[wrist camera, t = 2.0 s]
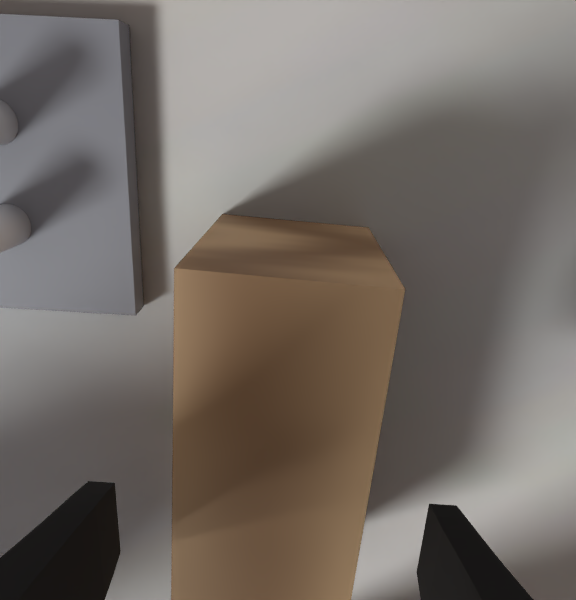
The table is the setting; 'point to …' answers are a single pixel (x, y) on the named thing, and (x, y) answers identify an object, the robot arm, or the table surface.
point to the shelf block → (277, 406)
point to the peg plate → (68, 167)
